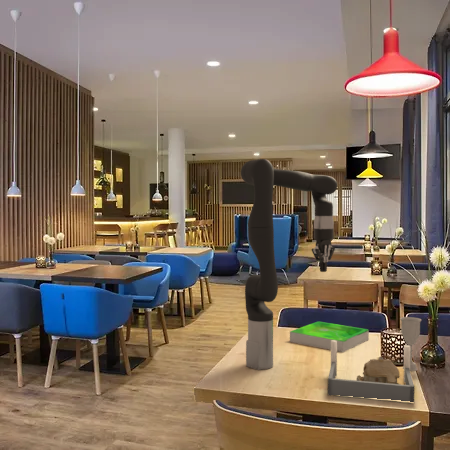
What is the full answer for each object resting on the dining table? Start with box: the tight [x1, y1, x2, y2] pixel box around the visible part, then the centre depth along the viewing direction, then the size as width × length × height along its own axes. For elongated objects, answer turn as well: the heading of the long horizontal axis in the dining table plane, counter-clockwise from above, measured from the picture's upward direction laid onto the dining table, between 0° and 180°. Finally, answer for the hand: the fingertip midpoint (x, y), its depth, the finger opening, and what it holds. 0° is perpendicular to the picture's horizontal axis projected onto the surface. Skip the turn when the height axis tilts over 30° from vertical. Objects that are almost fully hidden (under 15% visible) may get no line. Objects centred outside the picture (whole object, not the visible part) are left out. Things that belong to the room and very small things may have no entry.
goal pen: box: [327, 340, 415, 403], centre depth 160 cm, size 20×26×12 cm
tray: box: [289, 321, 370, 353], centre depth 217 cm, size 25×25×5 cm
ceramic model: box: [356, 356, 401, 384], centre depth 160 cm, size 14×11×10 cm
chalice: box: [399, 316, 422, 372], centre depth 179 cm, size 7×7×18 cm
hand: (323, 271), depth 195 cm, fingers closed
